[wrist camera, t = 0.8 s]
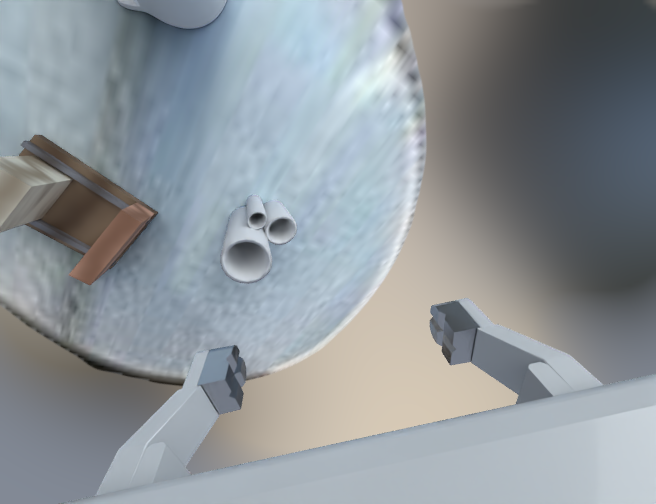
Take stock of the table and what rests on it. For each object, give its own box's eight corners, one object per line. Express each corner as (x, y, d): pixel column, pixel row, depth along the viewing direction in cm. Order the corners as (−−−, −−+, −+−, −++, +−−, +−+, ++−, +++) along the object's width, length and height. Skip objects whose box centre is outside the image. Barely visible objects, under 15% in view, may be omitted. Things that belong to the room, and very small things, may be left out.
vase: (244, 245, 54) (243, 292, 36) (219, 217, 51) (205, 253, 33) (289, 213, 55) (311, 244, 37) (268, 183, 51) (280, 201, 33)
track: (-9, 200, 41) (-62, 211, 34) (41, 135, 40) (-3, 132, 33) (113, 265, 49) (91, 286, 42) (158, 212, 48) (142, 223, 41)
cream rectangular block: (3, 196, 40) (-58, 208, 32) (35, 155, 39) (-19, 157, 31) (42, 218, 42) (-6, 234, 34) (72, 179, 41) (31, 186, 33)
